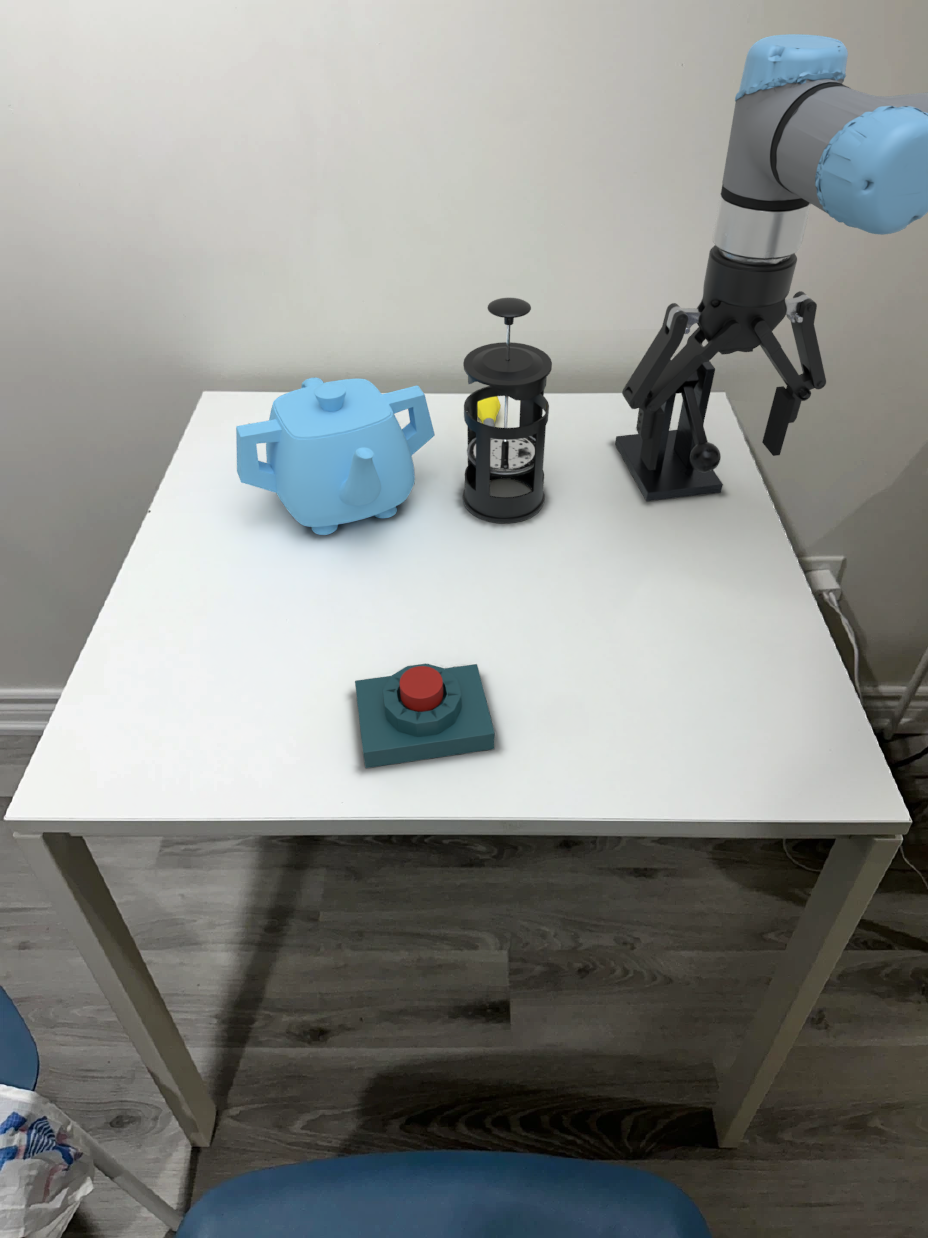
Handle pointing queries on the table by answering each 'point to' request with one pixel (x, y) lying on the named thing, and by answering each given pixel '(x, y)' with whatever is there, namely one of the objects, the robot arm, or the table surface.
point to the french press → (506, 448)
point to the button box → (423, 719)
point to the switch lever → (698, 430)
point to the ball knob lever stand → (673, 452)
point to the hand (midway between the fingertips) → (709, 456)
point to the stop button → (421, 688)
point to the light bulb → (488, 410)
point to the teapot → (336, 451)
